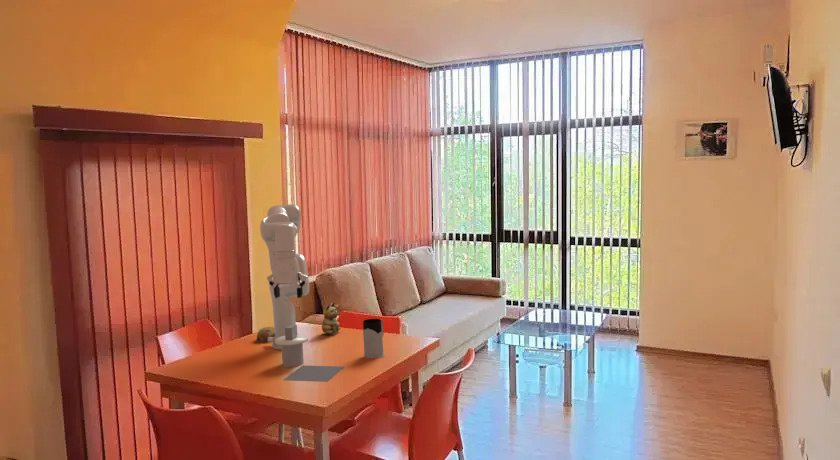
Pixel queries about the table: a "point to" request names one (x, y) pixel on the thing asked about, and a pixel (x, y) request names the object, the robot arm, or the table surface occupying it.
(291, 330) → the lid
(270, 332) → the bread roll
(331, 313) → the decorative figurine
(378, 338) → the glass holder
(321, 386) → the table surface
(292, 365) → the cup
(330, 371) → the mat
